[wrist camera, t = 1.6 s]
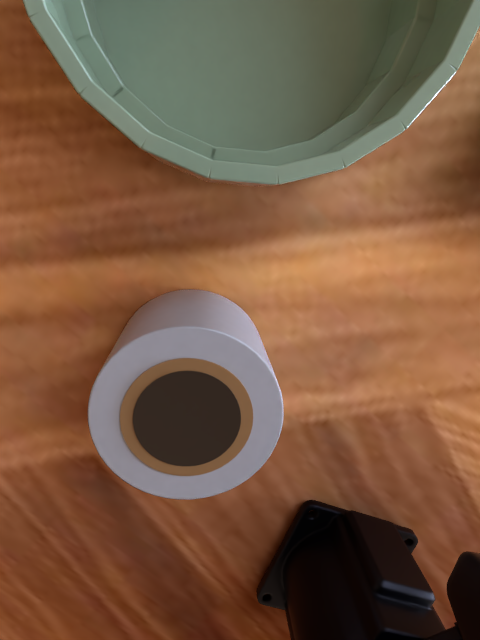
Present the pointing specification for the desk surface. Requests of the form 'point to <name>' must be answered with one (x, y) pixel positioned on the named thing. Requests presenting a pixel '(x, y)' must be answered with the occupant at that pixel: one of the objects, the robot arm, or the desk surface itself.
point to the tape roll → (186, 398)
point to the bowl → (257, 76)
